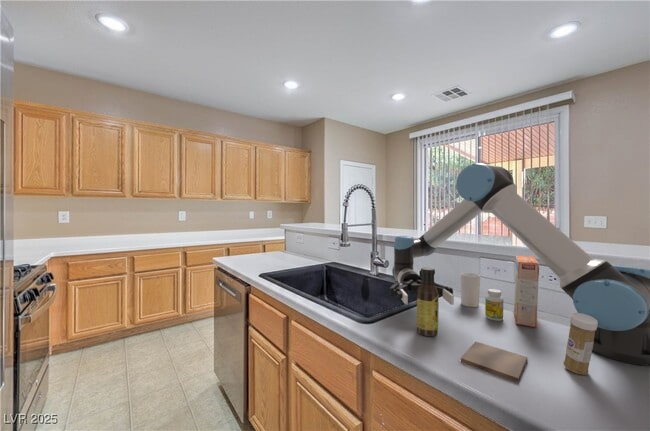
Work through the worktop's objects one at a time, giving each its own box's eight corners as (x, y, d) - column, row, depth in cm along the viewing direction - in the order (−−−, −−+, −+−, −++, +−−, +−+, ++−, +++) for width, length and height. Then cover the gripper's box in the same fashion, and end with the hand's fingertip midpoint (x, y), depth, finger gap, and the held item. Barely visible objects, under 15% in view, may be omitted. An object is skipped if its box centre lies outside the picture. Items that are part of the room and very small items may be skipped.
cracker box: (538, 328, 90) (540, 263, 89) (515, 324, 93) (516, 261, 92) (533, 314, 102) (535, 256, 101) (513, 311, 105) (514, 254, 104)
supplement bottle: (506, 319, 98) (506, 291, 97) (497, 322, 95) (498, 293, 94) (490, 313, 102) (490, 287, 102) (481, 316, 99) (482, 289, 99)
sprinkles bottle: (558, 363, 69) (566, 313, 67) (574, 360, 70) (582, 311, 67) (577, 377, 65) (586, 324, 62) (594, 374, 66) (604, 321, 63)
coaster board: (527, 360, 71) (527, 356, 71) (518, 382, 63) (518, 378, 63) (475, 344, 80) (475, 341, 80) (460, 362, 71) (460, 358, 71)
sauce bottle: (440, 338, 83) (440, 271, 83) (417, 336, 85) (418, 270, 84) (436, 329, 90) (436, 266, 89) (415, 327, 91) (416, 265, 90)
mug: (474, 309, 107) (475, 277, 106) (457, 304, 112) (457, 274, 112) (486, 303, 113) (486, 273, 113) (468, 298, 118) (469, 270, 118)
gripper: (443, 291, 106) (471, 312, 85) (376, 290, 106) (387, 312, 85) (443, 271, 105) (471, 287, 84) (376, 270, 106) (387, 287, 85)
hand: (429, 300), depth 85 cm, fingers open, 13 cm apart
